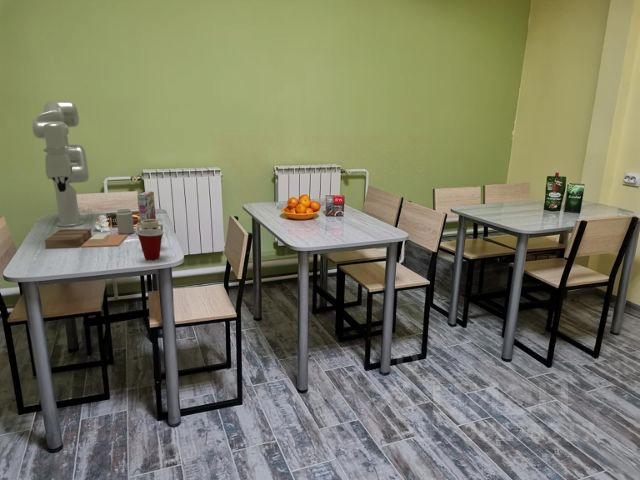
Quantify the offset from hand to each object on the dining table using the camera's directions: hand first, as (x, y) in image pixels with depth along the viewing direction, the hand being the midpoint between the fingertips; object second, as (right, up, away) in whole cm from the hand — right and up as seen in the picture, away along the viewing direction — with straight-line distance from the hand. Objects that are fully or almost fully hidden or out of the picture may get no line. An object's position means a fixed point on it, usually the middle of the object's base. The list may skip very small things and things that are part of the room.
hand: (62, 191), depth 222 cm
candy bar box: (+26, -13, +39) cm, 49 cm away
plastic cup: (+49, -31, -19) cm, 61 cm away
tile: (+16, -22, +3) cm, 27 cm away
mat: (+18, -23, +5) cm, 30 cm away
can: (+22, -19, +19) cm, 35 cm away
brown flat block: (+2, -24, +3) cm, 24 cm away
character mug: (+44, -27, -6) cm, 52 cm away
